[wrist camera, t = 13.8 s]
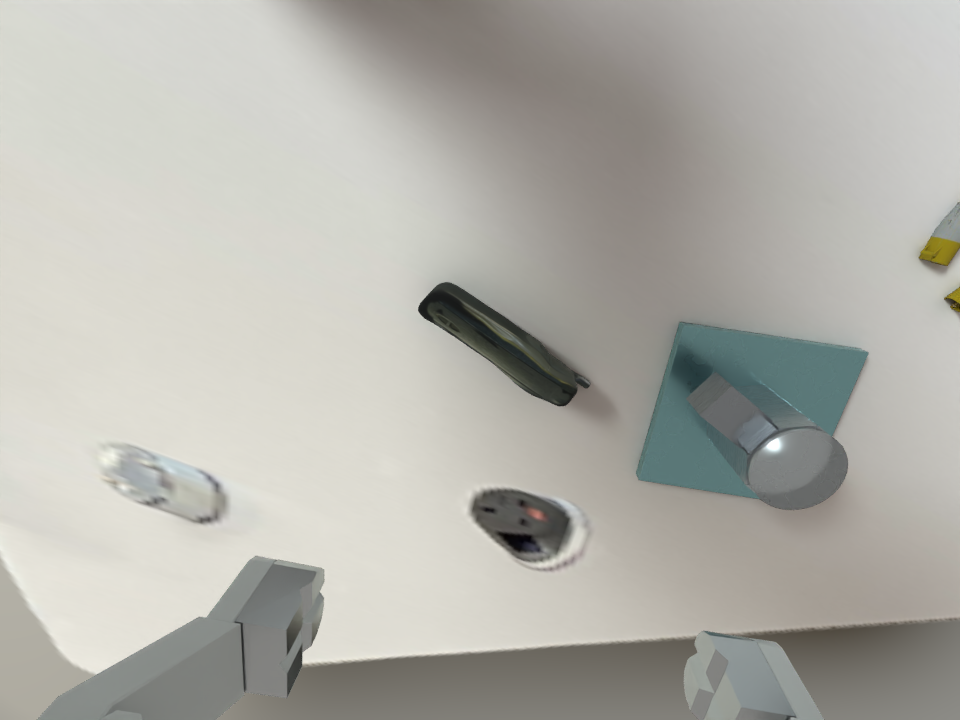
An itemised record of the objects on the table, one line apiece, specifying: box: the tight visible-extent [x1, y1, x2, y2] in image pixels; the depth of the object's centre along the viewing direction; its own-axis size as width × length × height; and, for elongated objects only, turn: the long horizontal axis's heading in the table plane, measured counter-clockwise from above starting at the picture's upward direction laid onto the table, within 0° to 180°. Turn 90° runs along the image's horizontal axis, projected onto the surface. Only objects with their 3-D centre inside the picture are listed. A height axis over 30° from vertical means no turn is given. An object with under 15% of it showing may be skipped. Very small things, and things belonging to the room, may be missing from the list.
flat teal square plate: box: [636, 322, 868, 499], centre depth 36 cm, size 14×14×6 cm
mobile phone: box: [418, 282, 591, 406], centre depth 36 cm, size 5×3×15 cm
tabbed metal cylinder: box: [686, 371, 848, 510], centre depth 34 cm, size 10×6×8 cm, turn 52°
